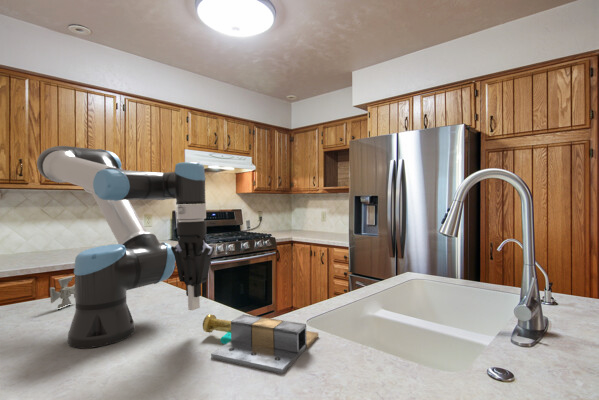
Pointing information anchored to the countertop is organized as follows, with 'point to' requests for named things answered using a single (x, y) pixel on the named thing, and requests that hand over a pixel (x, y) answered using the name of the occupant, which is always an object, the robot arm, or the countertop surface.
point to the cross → (63, 292)
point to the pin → (216, 324)
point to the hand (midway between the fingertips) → (194, 308)
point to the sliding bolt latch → (265, 343)
